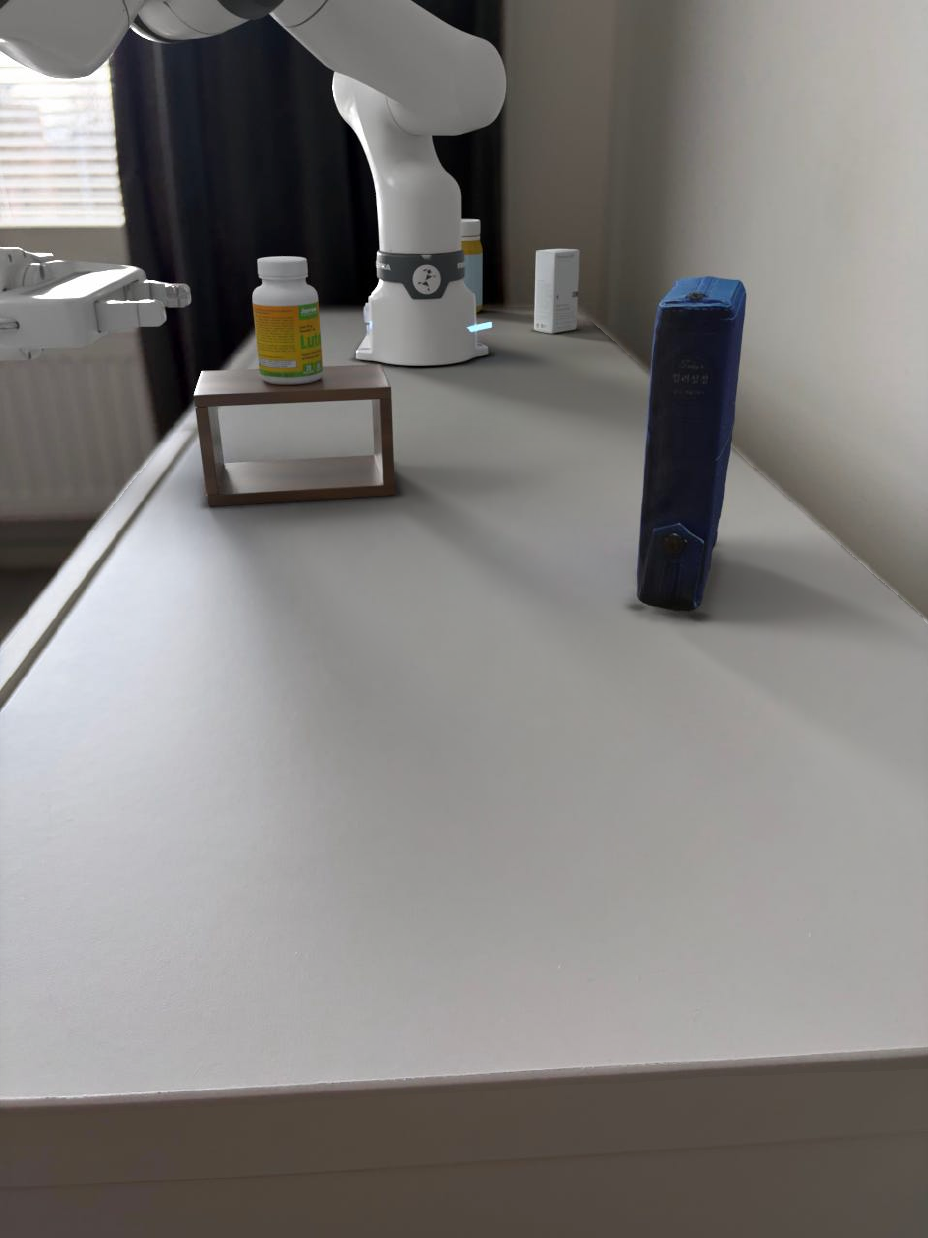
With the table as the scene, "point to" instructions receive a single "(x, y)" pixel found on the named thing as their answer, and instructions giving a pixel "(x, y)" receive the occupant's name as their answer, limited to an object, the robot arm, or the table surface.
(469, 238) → the bottle
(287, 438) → the table surface
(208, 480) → the shelf
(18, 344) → the robot arm
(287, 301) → the supplement bottle
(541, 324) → the cosmetic box
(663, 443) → the book
